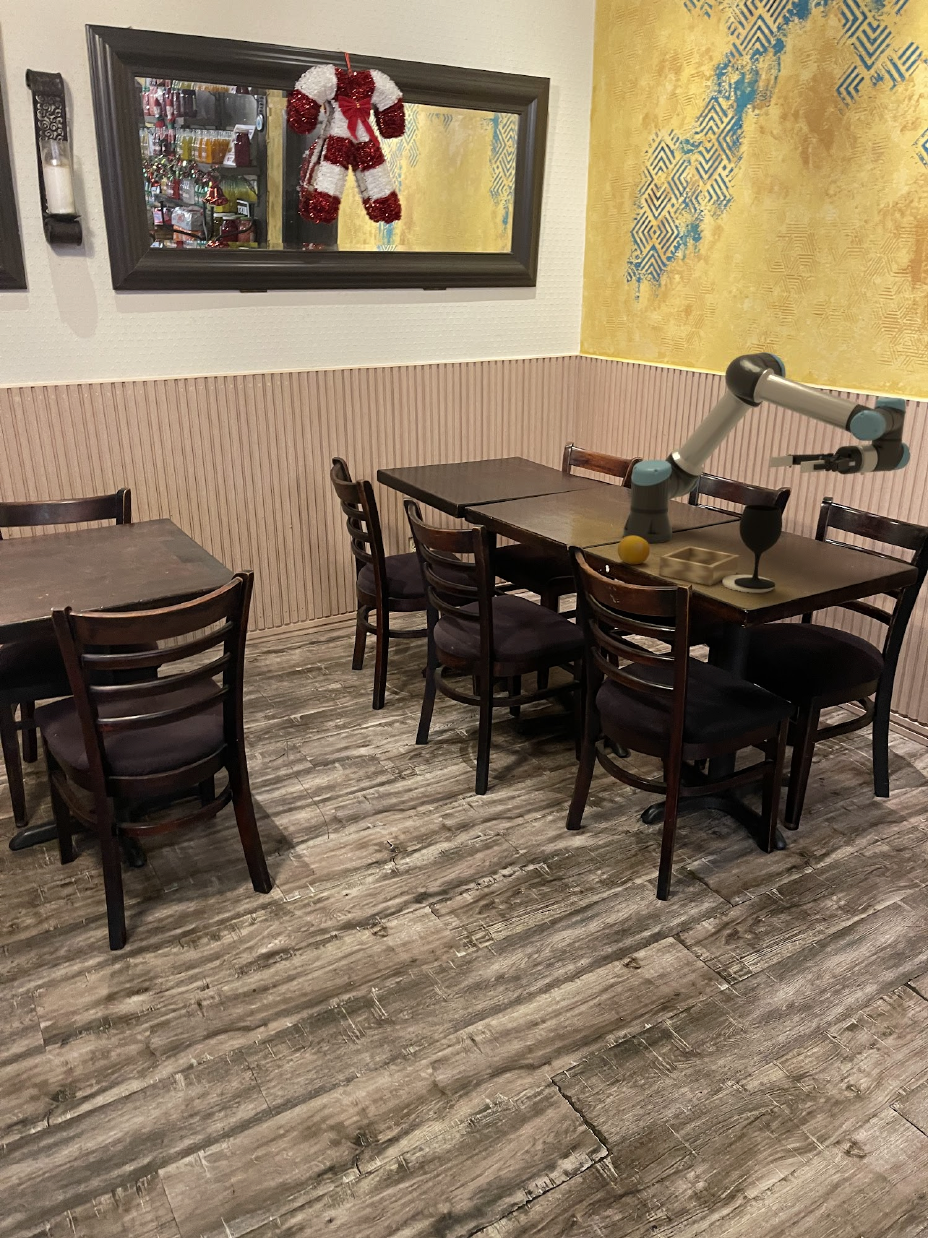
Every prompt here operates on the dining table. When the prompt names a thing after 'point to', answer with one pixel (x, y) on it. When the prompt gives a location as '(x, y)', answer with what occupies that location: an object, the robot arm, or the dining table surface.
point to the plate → (730, 584)
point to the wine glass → (759, 538)
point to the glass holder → (698, 565)
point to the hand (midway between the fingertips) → (785, 464)
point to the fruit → (633, 550)
